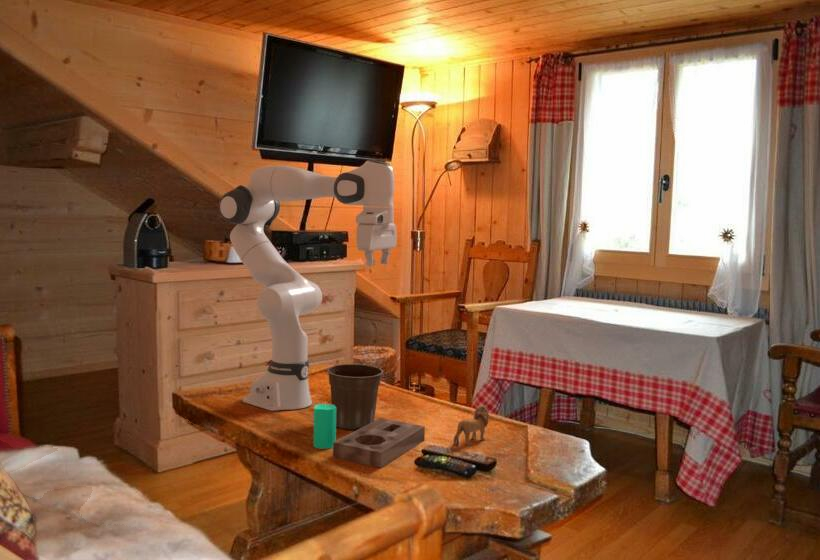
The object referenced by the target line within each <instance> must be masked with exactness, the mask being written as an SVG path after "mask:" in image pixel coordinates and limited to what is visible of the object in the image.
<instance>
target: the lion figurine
mask: <svg viewBox="0 0 820 560" xmlns="http://www.w3.org/2000/svg"><path fill="white" fill-rule="evenodd" d="M487 408H488V407H487V406H485V405H481V404H479V405H478V406H476V407H475V409H474V412H473V413H474V414H473V415H474V416H473V418H471V419H462V420H460V421H459V423H458V425H457V429H456V433H455V435H454V436H453V445H456V447H459V445H460V441H459V440H460V439H459V438H460V435H461V434H462V433H463V434H464V437H465V439H464V441H465V443H466V444H467V446H473V443H472V442H470V440H469V439H470V437H471V439H477V432H478V431H480V436H479V439H480V440H481V441H485V440H486V439H485V437H484V435H485V431H486V430H485V428H486V427H487V426H488V423H489V409H487ZM471 433H472V435H471ZM470 435H471V436H470Z"/></svg>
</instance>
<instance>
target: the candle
mask: <svg viewBox="0 0 820 560" xmlns="http://www.w3.org/2000/svg"><path fill="white" fill-rule="evenodd" d="M336 439H337V427H336V406H335V405H332V404H328V403H326V400H325V401H324V403H319V404H316V405H314V407H313V443H312V444H313V445H312V446H313V447H315V448H316V449H320V450H322V449H323V450H327V449H333V442H335V441H337V440H336Z"/></svg>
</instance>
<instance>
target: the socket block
mask: <svg viewBox="0 0 820 560" xmlns="http://www.w3.org/2000/svg"><path fill="white" fill-rule="evenodd" d="M425 433H426V426H425V425H420V424H415V423H409V422H406V421H405V422H404V421H399V420H393V419H388V418H383V417H382V418H381V417H379V418H377V419H376V420H375V419H374V422H372V423H370V424H368V425H366V426H364V427H362V428H357V429H355V431H354V430H353V432H350V433H349V434H346V435H344V436H343V437H340V438H339V439H337V440H336V441H335V442H333V448H332V458H334V459H338V460H341V461H347V462H351V463H356V464H360V465H365V466H369V467H373V468H377V469H382V468H384V467H385V466H387V465H389V464H390V463H392V462H394V461H395V460H397V459H398V458H399V457H402V455H403V456H404V454H406V453H407V452H409V451H410V450H412V449H414V448H416V447H417V446H418V445H420V444H421V443H423V442H424V441H425V437H426V436H425Z"/></svg>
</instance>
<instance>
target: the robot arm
mask: <svg viewBox="0 0 820 560" xmlns="http://www.w3.org/2000/svg"><path fill="white" fill-rule="evenodd" d="M249 176H250V177H249V183H248V184H247V185H246V186H244V185H238V186H237V187H235V188H233V189H231V190H229V191H227V192H226V193H224V194H223V195H222V196H221V198H220V200H219V202H218V211H219V215H220V216H221V218H222V219H223V220H224V221H225V222H227V223H229V224H233V225H236V226H234V227H233V229H232V230H231V231H230V234H229V240H230V242H231V245H232V247H233V249H234V251H235V253H236V255H237V257H238V258H239V260H240V261H241V262H242V264H243V265H244V268H246V269H247V271H248V272H249V274H250V275H251V277H252V279H253V280H254V281H255V282H256V283H258V284H260V285H262V286H264V287H265V288H263V289H262V290H261V291H260V292H259V293H258V295H257V298H256V306H257V310H258V311H259V314H261V316H263V317H264V318H265V320H266V322H267V324H268V327H269V329H270V330H269V331H270V334H271V344H272V345H271V346H272V347H271V350H272V351H271V353H272V354H271V355H272V357H271V358H272V359H270V360H269V361H266V362H264V363H265V365H264V366H265V367H266V366H268V367H267V370H266V371H265V372H264V373H262V374H261V375H260V376H259V377H257V378H256V379H254V380H253V381H252V383H251V385H250V389H249V394H247V395H245V396H243V398H242V403H244V404H249V405H252V406H255V407H258V408H261V409H265V410H268V411H271V412H274V411H281V410H282V411H285V410H286V411H287V410H300V409H304V408H307V407H310V406H311V405H312V404H313V401H312V396H311V392H310V386H309V385H310V384H309V374H310V373H309V372H310V371H309V370H310V360H309V359H308V356H309V355H308V354H309V353H308V352H309V351H308V346H309V338H308V334H307V333H306V331H304V330H303V328H302V326H301V324H300V316H303V315H307V314H309V313H312V312H313V311H315V310H316V309H318V308H319V307H320V306H321V304H322V302H323V293H322V290H321V288H320V286H318V284H316V283H315V282H313V281H310V280H309V279H307V278H305V277H304V276H303V275H301V273H299V272H298V271H297V270H295V269H294V268H293V267H292V266H291V265H290V264H289V263H288V262H287V261H286V260H285V259H284V258H283V257H282V255H281V254H280V253H279V251H278V250H277V249H276V248H275V246H274V245H273V244H272V242H271V240H270V239H269V238H268V236H267V235H266V234H265V231H264V229H268V228H270V227H271V226H272V224H273V222H274V221H275V220H276V218H277V217H278V216H279V213H280V211H281V204H280V203H281V202H299V201H307V200H312V199H313V200H314V199H320V198H335V199H336V200H337V201H338V202H340V203H341V204H343V205H348V206H363V209H362V211H361V212H360V213H359V214H357V215H356V216H355V223H356V224H357V226H356V246H357V249H358V251H362V252H363V251H364V256H365V257H364V258H365V260H366V266H367V267H372V268H373V267H374V266H375V263H376V262H375V260H374V256H373V255H374V252H375V251H379V250H381V252H382V254H381V258H380V265H388V264H389V257H390V254H391V249H396V247H397V244H398V241H397V240H398V237H397V236H398V235H397V225H396V224H395V223H394V221H395V219H394V216H395V208H394V207H395V204H394V199H393V198H394V195H395V174H394V168H393V166H392V164H391V163H389V162H386V161H380V160H377V159H368V160H366V161H365V162H364V163H363V164H362V165H360V166H359V167H356V168H355V169H352V170H350V171H349V170H348V171H346V172H342V173H340V174H339V175H338V176H329V175H324V174H321V173H319V172H318V173H317V172H315V171H310V170H307V169H303V168H301V167H297V166H293V165H292V166H291V165H286V164H285V165H281V164H277V165H276V164H273V165H265V166H264V165H263V166H259V167H256V169H254V170H253V171H252V172H251V174H250V175H249Z"/></svg>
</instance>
